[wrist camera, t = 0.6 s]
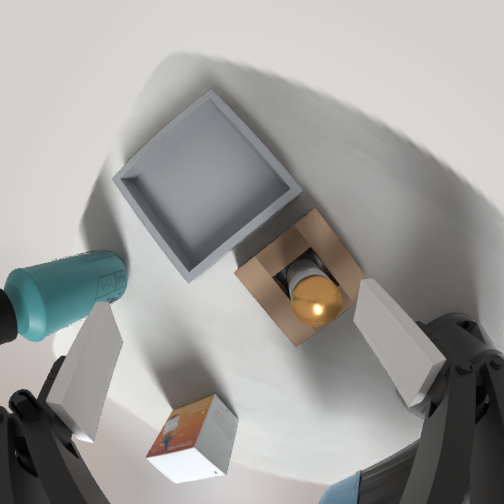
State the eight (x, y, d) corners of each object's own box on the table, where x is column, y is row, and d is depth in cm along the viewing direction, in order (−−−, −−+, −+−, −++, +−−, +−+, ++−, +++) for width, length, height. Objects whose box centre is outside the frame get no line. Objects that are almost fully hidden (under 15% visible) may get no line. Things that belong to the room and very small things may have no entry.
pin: (326, 278, 29) (351, 306, 19) (300, 298, 30) (311, 336, 19) (306, 252, 29) (322, 267, 19) (280, 272, 29) (281, 299, 19)
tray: (299, 194, 28) (303, 190, 24) (199, 276, 30) (188, 283, 26) (218, 103, 28) (211, 88, 24) (129, 183, 30) (111, 178, 26)
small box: (215, 391, 32) (195, 446, 21) (240, 419, 32) (228, 475, 22) (171, 409, 33) (143, 457, 22) (195, 434, 33) (174, 484, 23)
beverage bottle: (107, 237, 31) (-29, 255, 11) (145, 270, 31) (11, 323, 11) (88, 277, 32) (-34, 317, 12) (122, 310, 32) (5, 379, 12)
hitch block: (365, 281, 29) (373, 287, 26) (294, 336, 30) (295, 347, 27) (311, 209, 28) (315, 207, 25) (238, 268, 30) (233, 273, 27)
